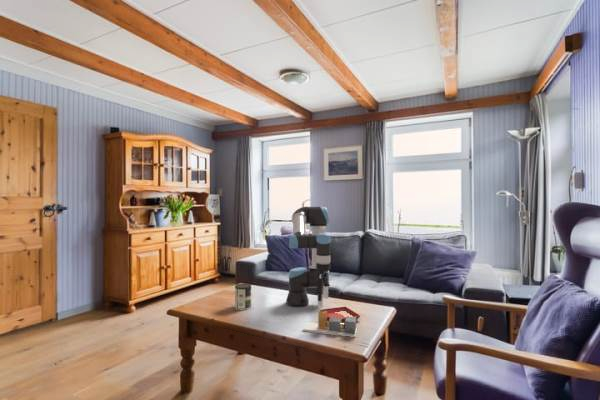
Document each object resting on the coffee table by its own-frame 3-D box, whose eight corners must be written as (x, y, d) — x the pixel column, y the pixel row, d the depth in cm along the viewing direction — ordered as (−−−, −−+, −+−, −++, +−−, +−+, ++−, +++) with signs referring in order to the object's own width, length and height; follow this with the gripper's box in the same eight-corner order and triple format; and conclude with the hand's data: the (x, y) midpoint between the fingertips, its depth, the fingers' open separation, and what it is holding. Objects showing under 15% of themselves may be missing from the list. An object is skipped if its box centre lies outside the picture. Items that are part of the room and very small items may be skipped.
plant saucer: (319, 314, 190) (319, 309, 190) (345, 311, 196) (345, 306, 196) (332, 326, 173) (332, 319, 173) (361, 321, 179) (361, 315, 179)
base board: (307, 323, 174) (307, 322, 174) (357, 329, 167) (357, 328, 167) (302, 331, 165) (302, 329, 165) (355, 337, 157) (355, 335, 157)
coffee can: (249, 304, 208) (249, 282, 208) (252, 309, 198) (252, 286, 198) (233, 305, 204) (233, 284, 204) (236, 311, 194) (236, 288, 194)
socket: (346, 327, 167) (346, 316, 167) (356, 329, 165) (356, 317, 165) (344, 333, 160) (344, 321, 160) (354, 334, 159) (354, 322, 159)
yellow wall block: (318, 327, 165) (318, 312, 165) (320, 325, 169) (320, 310, 169) (352, 332, 160) (352, 316, 160) (353, 329, 164) (353, 313, 164)
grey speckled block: (330, 326, 168) (330, 317, 168) (341, 327, 167) (341, 318, 167) (328, 330, 163) (328, 321, 163) (340, 332, 161) (340, 322, 161)
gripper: (321, 257, 180) (321, 294, 180) (310, 267, 156) (310, 309, 156) (334, 258, 178) (334, 295, 178) (325, 268, 154) (325, 311, 154)
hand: (322, 302), depth 167 cm, fingers open, 13 cm apart
